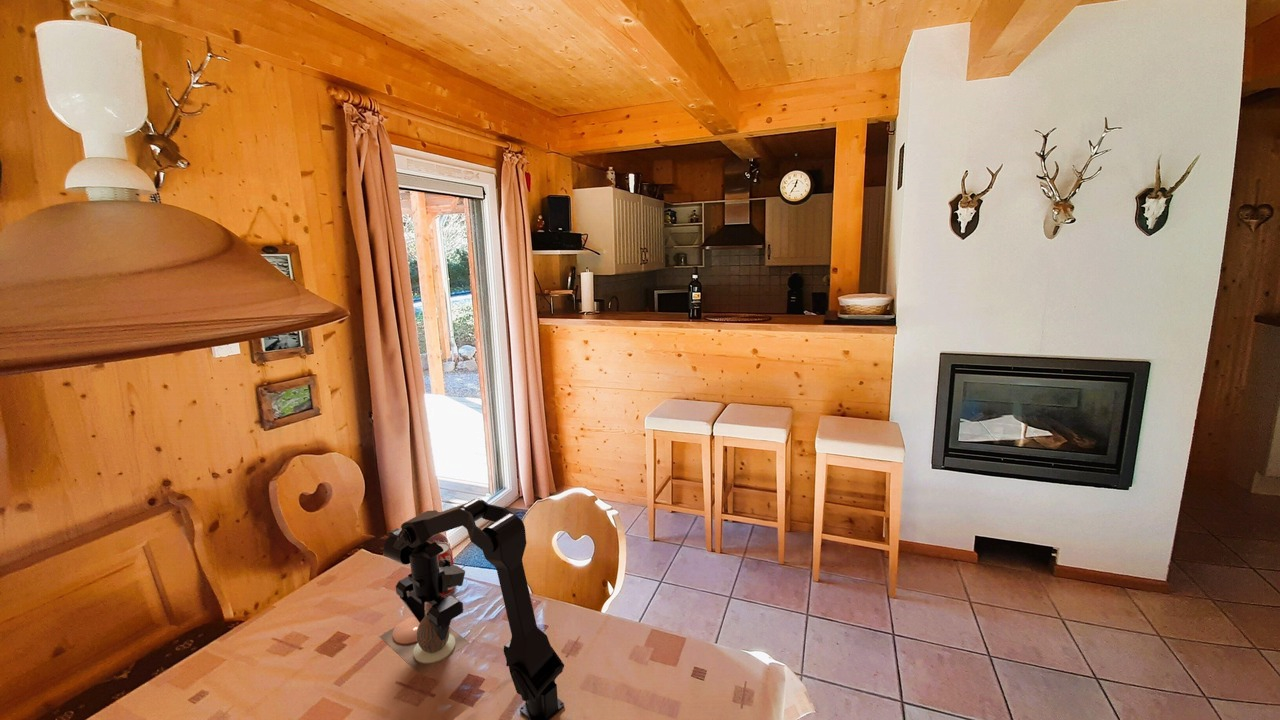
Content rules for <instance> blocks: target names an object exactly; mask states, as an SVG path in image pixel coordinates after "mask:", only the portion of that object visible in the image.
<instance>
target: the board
mask: <svg viewBox="0 0 1280 720" xmlns="http://www.w3.org/2000/svg"><path fill="white" fill-rule="evenodd" d="M427 611H429V610H428V609H427V608H426V609H425V614H426V612H427ZM395 627H396V626H395ZM395 627H393V628H391V629H389V630H387V631H386V632H384V633H382V634H381V635H379V636H378V637H379V638H381V640H382V641H383V642H385V644H387V645H388V647H390V648H391V649H392V650H393V651H394V652H395V653H396V654H397V655H398V656H399V657H401V658H402V659H403V661H405V663H406V664H408V665H409V666H410V667H412V669H414V671H416V672H417V673H418V674H419V675H420V676H422V675H423V674H425V673H427V672H428V671H429V670H431V669H433V668H434V667H435V666H436V665H438V664H440V663H441V662H443V661H444V660H446V659H448V658H449V657H450V656H452V655H453V654H455V653H456V652H458V651H459V650H461V649H462V648H464V647H465V646H467V645H468V644H470V642H469V641H468V640H467V639H466V638H464V636H462V635H460V633H458V632H457V631H456V630H454V629H453V628H452V627H450V626H449V630H450V634H451V635H453V636H454V638H455V643H456V644H455V648H454V650H453V651H452V653H451V654H450V655H448V656H447V657H446V658H444V659H443V660H441V661H438V662H435V663H430V664H423V663H419V662H417V661H416V660H415V658H414V655H413V650H414V648H415V646H416V644H417V643H418V642H415V643H411V644H399V643H397V642H395V641H394V639H393V630H394V629H395Z"/></svg>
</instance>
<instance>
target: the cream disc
mask: <svg viewBox="0 0 1280 720" xmlns="http://www.w3.org/2000/svg"><path fill="white" fill-rule="evenodd" d="M455 644H456V643H455V638H454V636H453V635H451V634H450V633H449V638H448V641H447V643H446V645H445V646H444V647H443V648H442V649H441V650H439V651H437V652H434V653H428V652H425V651H423V650H422V649H421V648H420V646H419V644H418V643H417V644H416V646H415V648H414V650H413V655H414V658H415V660H416V661H417V662H419V663H423V664H430V663H435V662H438V661H441V660H443V659H444V658H446V657H447V656H448V655H450V654H451V653H452V651H453V650H454V648H455ZM450 656H451V655H450ZM447 658H448V657H447ZM447 658H446V659H447ZM444 660H445V659H444ZM444 660H443V661H444ZM441 662H442V661H441Z"/></svg>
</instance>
